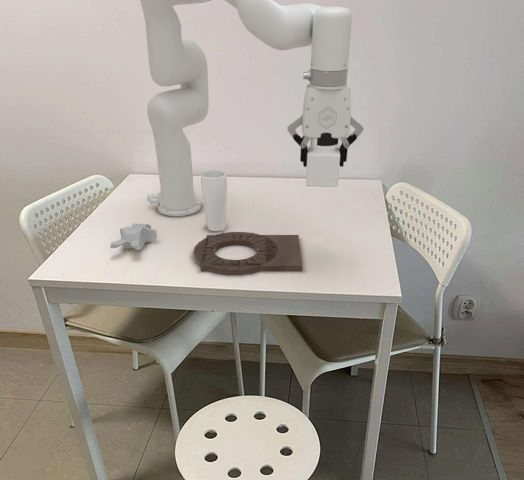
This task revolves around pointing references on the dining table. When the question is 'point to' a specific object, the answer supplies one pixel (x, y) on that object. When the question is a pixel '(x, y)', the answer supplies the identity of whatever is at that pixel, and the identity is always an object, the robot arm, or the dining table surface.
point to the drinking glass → (214, 198)
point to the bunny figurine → (135, 236)
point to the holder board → (266, 259)
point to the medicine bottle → (323, 161)
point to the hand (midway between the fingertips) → (323, 164)
